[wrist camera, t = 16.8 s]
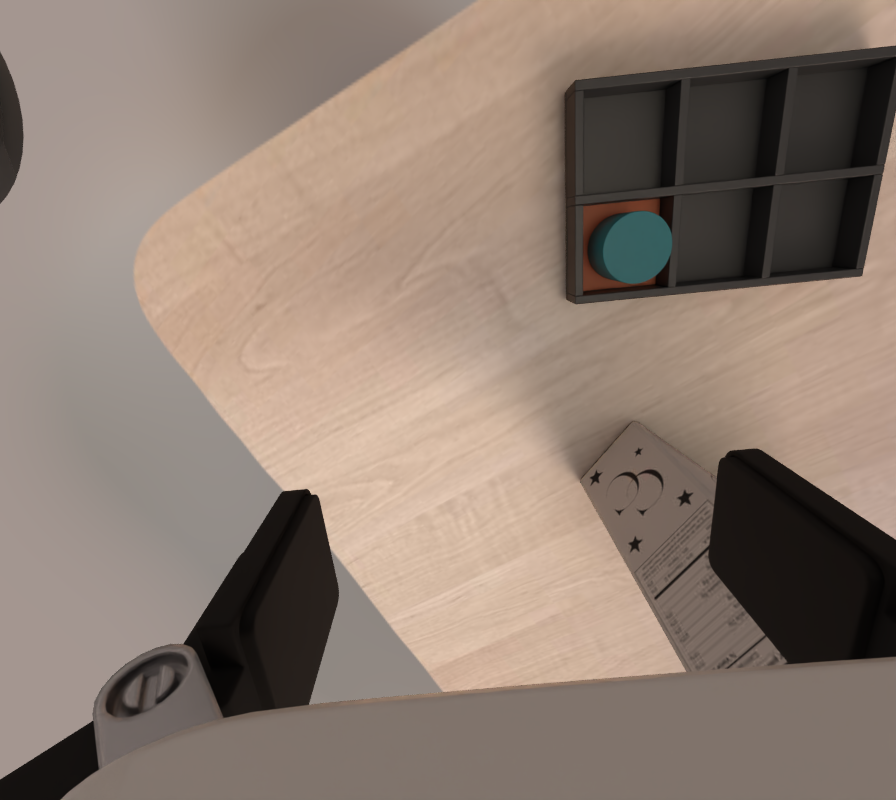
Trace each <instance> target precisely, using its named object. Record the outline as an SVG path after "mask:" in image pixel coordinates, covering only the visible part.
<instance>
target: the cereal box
mask: <svg viewBox="0 0 896 800" xmlns="http://www.w3.org/2000/svg"><path fill="white" fill-rule="evenodd" d="M716 482H717V478H716V477H715V476H713V475H712V474H710V473H709V472H708V471H706V470H705V469H703V468H702V467H701V466H699V465H698V464H696V463H695V462H693V461H692V460H691V459H689V458H688V457H686V456H685V455H684V454H682V453H681V452H679V451H678V450H676V449H675V448H674V447H672V446H671V445H669V444H668V443H667V442H665V441H664V440H662V439H661V438H659V437H658V436H657V435H655V434H654V433H652V432H651V431H650V430H648V429H647V428H645V427H644V426H642V425H641V424H640V423H638V422H634V421H633V422H632V423H631V424H630V425H629V426H628V427H627V428H626V429H625V431H624V432H623V433H622V434H621V435H620V436H619V437H618V438H617V440H616V441H615V442H614V443H613V444H612V445H611V446H610V447H609V449H608V450H607V451H606V452H605V453H604V454H603V455H602V456H601V458H600V459H599V460H598V461H597V462H596V463H595V464H594V465H593V467H592V468H591V469H590V470H589V471H588V472H587V473H586V474H585V476H584V477H583V478H582V479H581V482H580V483H581V484H582V486H583V488H584V490H585V491H586V493H587V495H588V497H589V499H590V500H591V502H592V504H593V506H594V508H595V509H596V511H597V513H598V515H599V516H600V518H601V520H602V522H603V524H604V525H605V527H606V529H607V531H608V532H609V534H610V536H611V538H612V540H613V541H614V543H615V545H616V547H617V549H618V550H619V552H620V554H621V556H622V557H623V559H624V561H625V563H626V565H627V566H628V568H629V570H630V572H631V574H632V575H633V577H634V579H635V581H636V582H637V584H638V586H639V588H640V590H641V591H642V593H643V595H644V597H645V598H646V600H647V602H648V604H649V606H650V607H651V609H652V611H653V613H654V615H655V616H656V618H657V620H658V622H659V623H660V625H661V627H662V629H663V631H664V632H665V634H666V636H667V638H668V640H669V641H670V643H671V645H672V647H673V648H674V650H675V652H676V654H677V656H678V657H679V659H680V661H681V663H682V664H683V666H684V668H685V670H686V672H693V671H706V670H720V669H733V668H746V667H760V666H773V665H787V664H789V663H788V662H787V661H786V660H785V658H784V657H783V656H782V655H781V654H780V652H779V651H778V650H777V649H776V647H775V646H774V645H773V644H772V643H771V641H770V640H769V639H768V638H767V636H766V635H765V634H764V633H763V631H762V630H761V629H760V628H759V627H758V625H757V624H756V623H755V622H754V620H753V619H752V618H751V617H750V615H749V614H748V613H747V612H746V611H745V609H744V608H743V607H742V606H741V604H740V603H739V602H738V601H737V599H736V598H735V597H734V596H733V595H732V593H731V592H730V591H729V590H728V588H727V587H726V586H725V585H724V583H723V582H722V581H721V580H720V579H719V577H718V576H717V575H716V574H715V572H714V571H713V570H712V568H711V566H710V563H709V558H708V551H709V543H710V534H711V525H712V517H713V508H714V500H715V491H716Z"/></svg>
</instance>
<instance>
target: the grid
mask: <svg viewBox="0 0 896 800" xmlns="http://www.w3.org/2000/svg"><path fill="white" fill-rule="evenodd" d="M895 112H896V46H888V47H879V48H870V49H860V50H851V51H842V52H833V53H823V54H814V55H805V56H796V57H786V58H777V59H768V60H759V61H749V62H740V63H731V64H722V65H712V66H703V67H694V68H684V69H675V70H666V71H657V72H647V73H638V74H629V75H620V76H610V77H601V78H592V79H583V80H575V81H574V82H573V84H572V85H571V86H570V87H569V88H568V90H567V91H566V92H565V198H566V300H568V301H570V302H572V303H574V304H584V303H594V302H604V301H614V300H625V299H635V298H645V297H655V296H666V295H676V294H686V293H696V292H706V291H717V290H727V289H737V288H747V287H758V286H768V285H778V284H788V283H799V282H809V281H819V280H829V279H839V278H850V277H860V276H862V274H863V268H864V264H865V260H866V255H867V250H868V245H869V240H870V235H871V230H872V225H873V220H874V215H875V210H876V205H877V200H878V195H879V191H880V186H881V181H882V176H883V171H884V166H885V165H884V164H885V162H886V157H887V152H888V147H889V142H890V137H891V132H892V127H893V122H894V117H895ZM634 211H649V212H653V213H655V214H657V215H659V216H660V217H661V218H662V219H664V221H665V222H666V223H667V225H668V226H669V229H670V231H671V235H672V250H671V254H670V257H669V259H668V261H667V263H666V265H665V266H664V268H663V269H662V270H661V271H660V272H659V273H658V274H657V275H656V276H654V277H653V278H651V279H650V280H647V281H645V282H642V283H637V284H628V283H623V282H619V281H615V280H611V279H607V278H605V277H602V276H601V275H599V274H598V273H597V272H596V271H595V270H594V269H593V268H592V266H591V264H590V262H589V259H588V243H589V239H590V236H591V234H592V232H593V231H594V229H595V228H596V227H597V225H598V224H599V223H600V222H602V221H603V220H604V219H606V218H607V217H609V216H612V215H615V214H620V213H627V212H634Z"/></svg>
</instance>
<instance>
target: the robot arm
mask: <svg viewBox="0 0 896 800" xmlns="http://www.w3.org/2000/svg"><path fill="white" fill-rule="evenodd" d="M708 558H709V563H710V566H711V568H712V570H713V571H714V572H715V574H716V575H717V576H718V577H719V579H720V580H721V581H722V582H723V583H724V585H725V586H726V587H727V588H728V590H729V591H730V592H731V593H732V595H733V596H734V597H735V598H736V599H737V601H738V602H739V603H740V604H741V606H742V607H743V608H744V609H745V611H746V612H747V613H748V614H749V615H750V617H751V618H752V619H753V620H754V622H755V623H756V624H757V625H758V627H759V628H760V629H761V630H762V631H763V633H764V634H765V635H766V636H767V638H768V639H769V640H770V641H771V643H772V644H773V645H774V646H775V647H776V649H777V650H778V651H779V652H780V654H781V655H782V656H783V657H784V658H785V660H786V661H787V662H788V663H789V664H787V665H773V666H760V667H746V668H733V669H720V670H706V671H693V672H680V673H668V674H655V675H643V676H630V677H618V678H605V679H593V680H581V681H568V682H556V683H544V684H532V685H520V686H508V687H497V688H485V689H474V690H462V691H451V692H440V693H428V694H417V695H405V696H394V697H382V698H372V699H361V700H350V701H340V702H329V703H320V704H312V705H309V702H310V699H311V695H312V692H313V688H314V684H315V681H316V678H317V674H318V670H319V667H320V664H321V660H322V657H323V653H324V650H325V646H326V643H327V639H328V635H329V632H330V629H331V625H332V621H333V618H334V614H335V611H336V607H337V604H338V597H339V590H338V589H339V588H338V583H337V578H336V574H335V569H334V564H333V560H332V555H331V551H330V546H329V542H328V537H327V532H326V528H325V523H324V519H323V514H322V510H321V505H320V501H319V498H318V496H317V495H311V493H310V491H309V490H308V489H304V490H293V491H283V492H282V493H281V494H280V496H279V497H278V499H277V500H276V502H275V504H274V505H273V507H272V508H271V510H270V511H269V513H268V515H267V516H266V518H265V520H264V521H263V523H262V524H261V526H260V527H259V529H258V530H257V532H256V534H255V535H254V537H253V538H252V540H251V542H250V543H249V545H248V546H247V548H246V550H245V551H244V552H243V553H242V554H241V555H240V556H239V558H238V559H237V561H236V562H235V564H234V565H233V567H232V569H231V570H230V572H229V573H228V575H227V576H226V578H225V579H224V581H223V583H222V584H221V586H220V587H219V589H218V590H217V592H216V594H215V595H214V597H213V598H212V600H211V602H210V603H209V605H208V606H207V608H206V609H205V611H204V612H203V614H202V616H201V617H200V619H199V620H198V622H197V623H196V625H195V627H194V628H193V630H192V631H191V633H190V634H189V636H188V638H187V639H186V641H185V642H184V644H169V645H165V646H161V647H158V648H155V649H152V650H150V651H148V652H146V653H143V654H141V655H139V656H138V657H136V658H135V659H133V660H131V661H130V662H128V663H127V664H125V665H124V666H123V667H122V668H121V669H119V670H118V671H117V672H116V673H115V674H114V675H112V677H111V678H110V679H109V680H108V681H107V682H106V684H105V685H104V686H103V687H102V688H101V690H100V692H99V694H98V696H97V698H96V700H95V702H94V708H93V721H92V722H91V723H89V724H87V725H86V726H84V727H83V728H81V729H79V730H78V731H76V732H75V733H73V734H72V735H70V736H68V737H67V738H65V739H64V740H62V741H60V742H59V743H57V744H56V745H54V746H53V747H51V748H49V749H48V750H47V751H45V752H43V753H41V754H40V755H38V756H37V757H35V758H34V759H32V760H31V761H29V762H27V763H26V764H24V765H23V766H21V767H19V768H18V769H16V770H15V771H13V772H12V773H10V774H8V775H7V776H5V777H4V778H2V779H0V800H896V540H895V539H894V538H892V537H891V536H889V535H888V534H886V533H885V532H883V531H882V530H880V529H879V528H877V527H876V526H874V525H873V524H871V523H870V522H868V521H867V520H865V519H864V518H862V517H861V516H859V515H858V514H856V513H855V512H853V511H852V510H850V509H849V508H847V507H846V506H844V505H843V504H841V503H840V502H838V501H837V500H835V499H834V498H832V497H831V496H829V495H828V494H826V493H825V492H823V491H822V490H820V489H819V488H817V487H816V486H814V485H813V484H811V483H810V482H808V481H807V480H805V479H804V478H802V477H801V476H799V475H798V474H796V473H795V472H793V471H792V470H790V469H789V468H787V467H786V466H784V465H783V464H781V463H780V462H778V461H777V460H775V459H774V458H772V457H771V456H769V455H768V454H766V453H765V452H763V451H762V450H759V449H745V450H734V451H729V452H728V453H727V455H726V456H725V458H722V459H721V460H720V461H719V465H718V474H717V482H716V491H715V500H714V508H713V517H712V525H711V534H710V543H709V551H708Z"/></svg>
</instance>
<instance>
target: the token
mask: <svg viewBox="0 0 896 800" xmlns="http://www.w3.org/2000/svg"><path fill="white" fill-rule="evenodd" d="M671 250H672V235H671V231H670V229H669V226H668V225H667V223H666V222H665V221H664V219H662V218H661V217H660V216H659V215H657V214H655V213H653V212H649V211H634V212H627V213H620V214H615V215H612V216H609V217H607V218H606V219H604V220H603V221H602V222H600V223H599V224H598V225H597V227H596V228H595V229H594V231H593V232H592V234H591V236H590V239H589V243H588V259H589V262H590V264H591V266H592V268H593V269H594V270H595V271H596V272H597V273H598V274H599V275H601V276H602V277H605V278H607V279H611V280H615V281H619V282H623V283H628V284H637V283H642V282H645V281H647V280H650V279H651V278H653V277H654V276H656V275H657V274H658V273H659V272H660V271H661V270H662V269H663V268H664V266H665V265H666V263H667V261H668V259H669V257H670V254H671Z"/></svg>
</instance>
